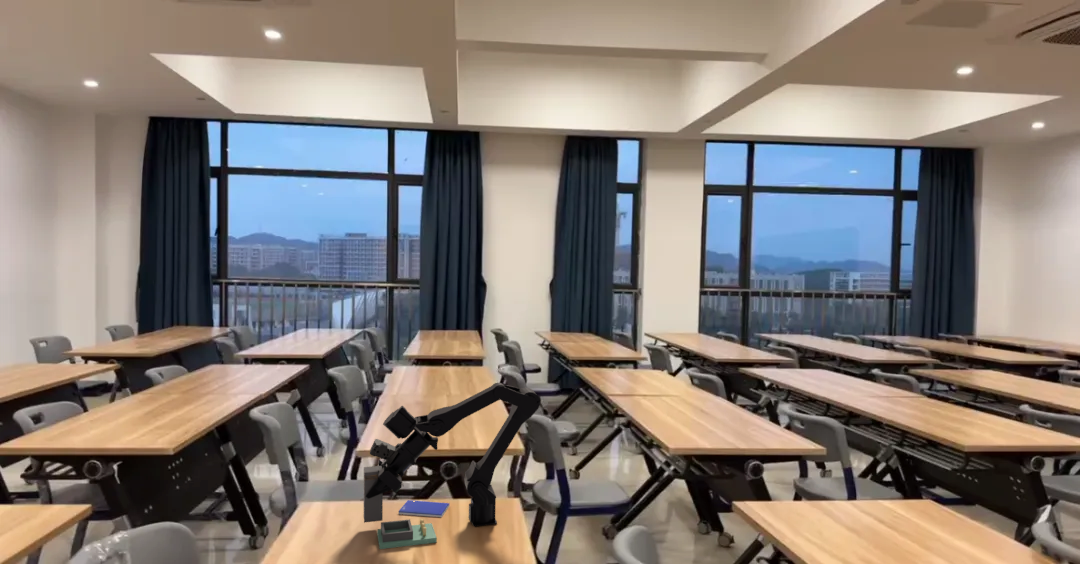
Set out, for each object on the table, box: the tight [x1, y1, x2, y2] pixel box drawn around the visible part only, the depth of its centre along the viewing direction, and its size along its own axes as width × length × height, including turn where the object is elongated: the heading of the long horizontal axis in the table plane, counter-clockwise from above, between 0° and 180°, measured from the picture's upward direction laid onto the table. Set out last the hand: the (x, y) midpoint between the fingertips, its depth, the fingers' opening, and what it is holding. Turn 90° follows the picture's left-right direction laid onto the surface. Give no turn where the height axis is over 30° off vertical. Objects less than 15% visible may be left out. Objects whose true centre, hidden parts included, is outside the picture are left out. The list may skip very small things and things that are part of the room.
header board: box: [376, 518, 438, 550], centre depth 163 cm, size 14×9×3 cm, turn 108°
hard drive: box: [398, 499, 450, 518], centre depth 181 cm, size 2×8×12 cm
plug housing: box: [363, 465, 384, 524], centre depth 167 cm, size 5×5×13 cm
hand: (367, 493), depth 167 cm, fingers closed on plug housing, 5 cm apart
